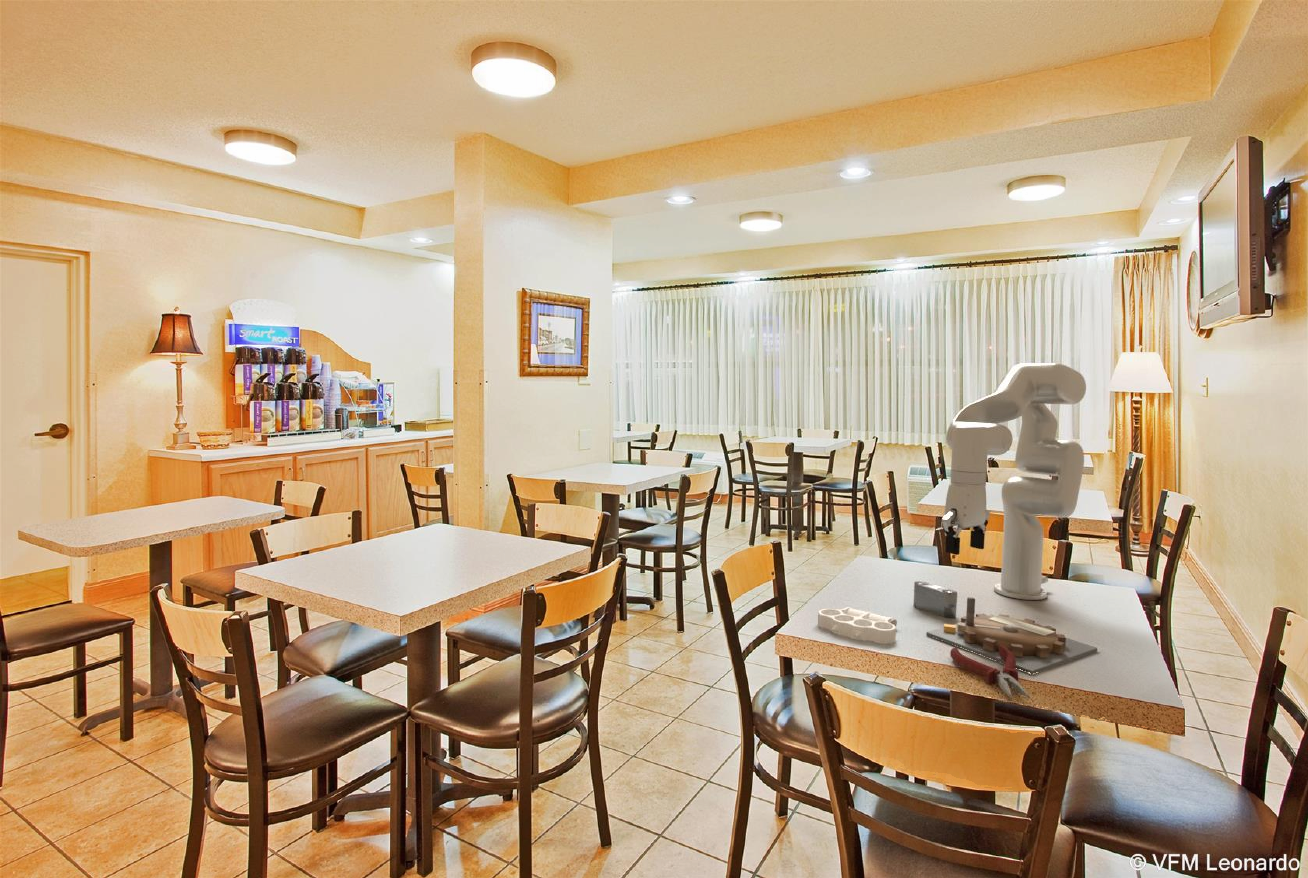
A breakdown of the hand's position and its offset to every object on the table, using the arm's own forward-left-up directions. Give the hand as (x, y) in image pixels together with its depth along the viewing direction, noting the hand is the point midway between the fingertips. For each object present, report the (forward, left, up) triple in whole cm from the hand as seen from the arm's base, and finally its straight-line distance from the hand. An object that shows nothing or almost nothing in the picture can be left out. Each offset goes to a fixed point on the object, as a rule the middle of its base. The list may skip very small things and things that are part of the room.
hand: (964, 550), depth 161 cm
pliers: (+23, +22, -17) cm, 36 cm away
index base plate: (+3, +14, -17) cm, 22 cm away
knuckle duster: (+25, -8, -18) cm, 32 cm away
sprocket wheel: (+3, +14, -17) cm, 22 cm away
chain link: (-1, -8, -17) cm, 19 cm away
